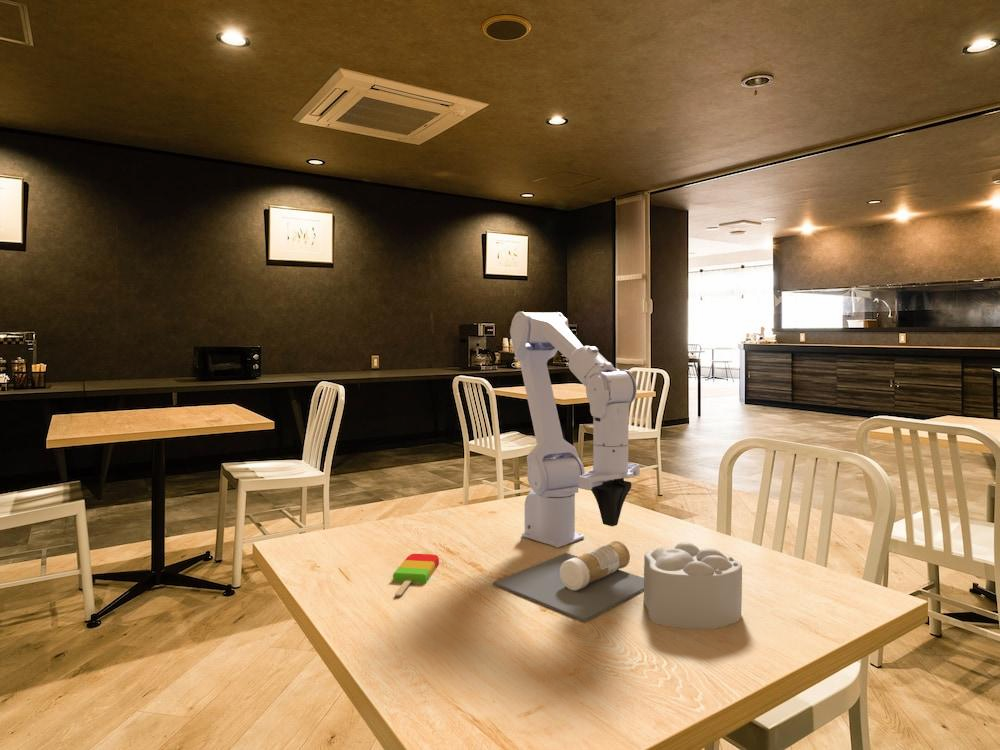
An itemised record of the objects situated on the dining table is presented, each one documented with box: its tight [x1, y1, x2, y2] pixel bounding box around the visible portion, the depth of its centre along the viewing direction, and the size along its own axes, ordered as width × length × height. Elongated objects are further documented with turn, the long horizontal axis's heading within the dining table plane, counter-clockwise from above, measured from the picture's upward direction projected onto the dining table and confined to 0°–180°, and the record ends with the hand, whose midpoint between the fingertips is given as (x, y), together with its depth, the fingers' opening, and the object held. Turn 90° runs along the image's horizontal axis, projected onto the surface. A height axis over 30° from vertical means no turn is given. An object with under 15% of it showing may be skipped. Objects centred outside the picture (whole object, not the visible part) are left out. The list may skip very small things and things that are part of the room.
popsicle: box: [392, 553, 440, 597], centre depth 99 cm, size 6×15×2 cm, turn 171°
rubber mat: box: [492, 552, 644, 623], centre depth 96 cm, size 18×18×1 cm
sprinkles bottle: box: [560, 540, 631, 591], centre depth 98 cm, size 5×5×13 cm
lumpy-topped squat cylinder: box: [643, 541, 743, 629], centre depth 87 cm, size 10×13×9 cm
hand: (610, 524), depth 102 cm, fingers closed
